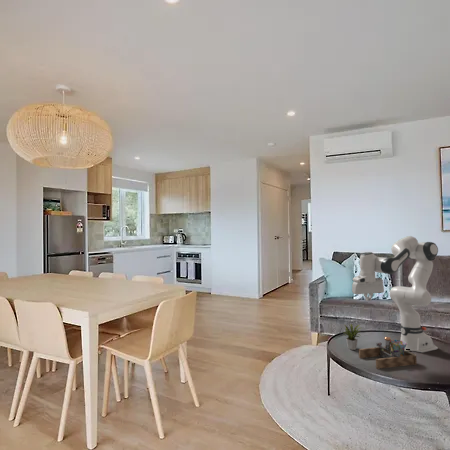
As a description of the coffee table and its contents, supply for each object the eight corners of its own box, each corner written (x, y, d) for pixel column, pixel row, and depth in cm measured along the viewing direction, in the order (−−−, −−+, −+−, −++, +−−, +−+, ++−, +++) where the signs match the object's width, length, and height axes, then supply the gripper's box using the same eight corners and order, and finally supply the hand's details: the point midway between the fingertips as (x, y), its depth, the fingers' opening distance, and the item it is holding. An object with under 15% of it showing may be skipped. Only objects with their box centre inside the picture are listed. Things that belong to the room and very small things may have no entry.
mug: (407, 364, 189) (408, 345, 189) (389, 361, 192) (390, 343, 192) (403, 357, 201) (404, 339, 201) (386, 354, 204) (387, 337, 204)
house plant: (368, 347, 218) (367, 322, 219) (363, 353, 207) (362, 327, 207) (345, 343, 226) (345, 319, 227) (340, 349, 215) (339, 324, 215)
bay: (394, 353, 207) (393, 344, 207) (416, 364, 188) (416, 354, 189) (358, 357, 202) (358, 347, 202) (378, 369, 184) (377, 359, 184)
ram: (380, 353, 205) (379, 332, 205) (402, 366, 186) (401, 342, 187) (375, 354, 205) (374, 333, 205) (397, 366, 186) (396, 343, 186)
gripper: (379, 276, 213) (380, 298, 212) (350, 278, 209) (351, 300, 208) (385, 278, 206) (386, 300, 206) (356, 279, 202) (356, 302, 202)
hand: (368, 300), depth 207 cm, fingers closed
